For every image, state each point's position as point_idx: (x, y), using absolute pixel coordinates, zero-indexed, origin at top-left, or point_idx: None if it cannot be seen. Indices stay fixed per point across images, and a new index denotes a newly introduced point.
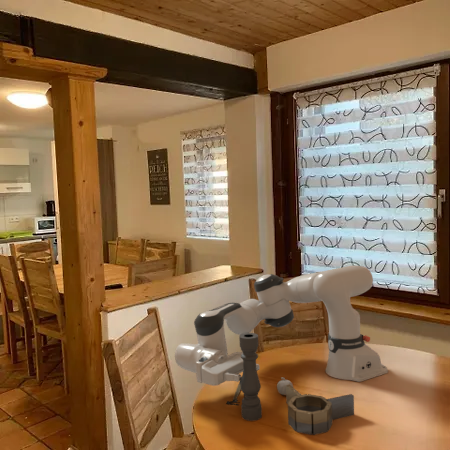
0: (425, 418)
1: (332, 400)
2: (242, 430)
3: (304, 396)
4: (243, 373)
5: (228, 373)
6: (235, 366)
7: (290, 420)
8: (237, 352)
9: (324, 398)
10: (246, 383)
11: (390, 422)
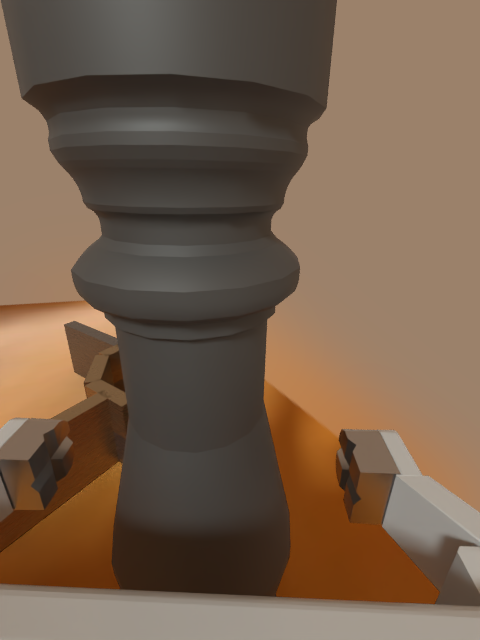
0: (77, 310)
1: (115, 339)
2: (371, 597)
3: (109, 384)
4: (259, 460)
5: (476, 550)
6: (206, 598)
7: None
8: None
9: (111, 349)
10: (280, 476)
11: (105, 330)
